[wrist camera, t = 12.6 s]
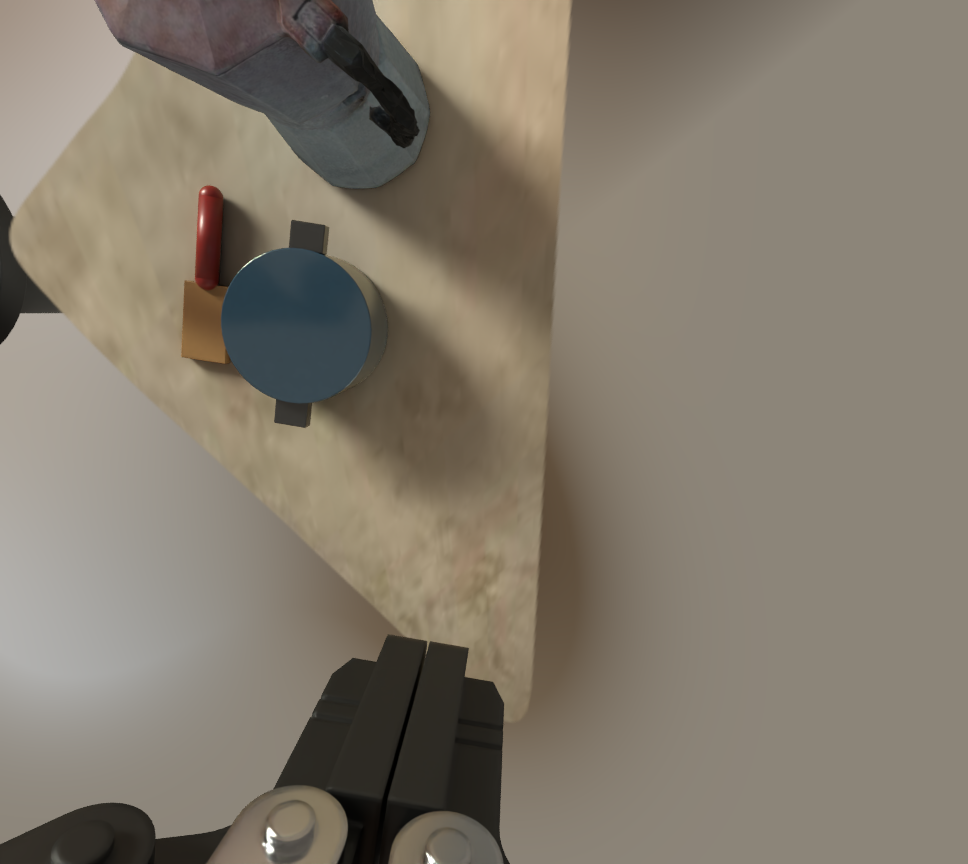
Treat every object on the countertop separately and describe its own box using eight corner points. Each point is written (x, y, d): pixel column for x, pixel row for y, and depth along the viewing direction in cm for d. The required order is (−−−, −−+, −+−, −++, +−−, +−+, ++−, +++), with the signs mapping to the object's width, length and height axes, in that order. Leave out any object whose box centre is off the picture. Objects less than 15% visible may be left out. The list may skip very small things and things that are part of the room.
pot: (247, 403, 40) (214, 414, 35) (261, 220, 37) (226, 208, 33) (376, 425, 40) (359, 439, 35) (399, 242, 37) (383, 233, 33)
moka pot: (304, -41, 34) (19, -513, 15) (513, 128, 35) (507, -98, 16) (221, 102, 36) (-133, -145, 16) (421, 259, 37) (314, 201, 18)
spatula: (230, 363, 39) (219, 365, 38) (186, 356, 39) (174, 357, 38) (240, 191, 37) (229, 187, 36) (194, 184, 37) (182, 179, 36)
